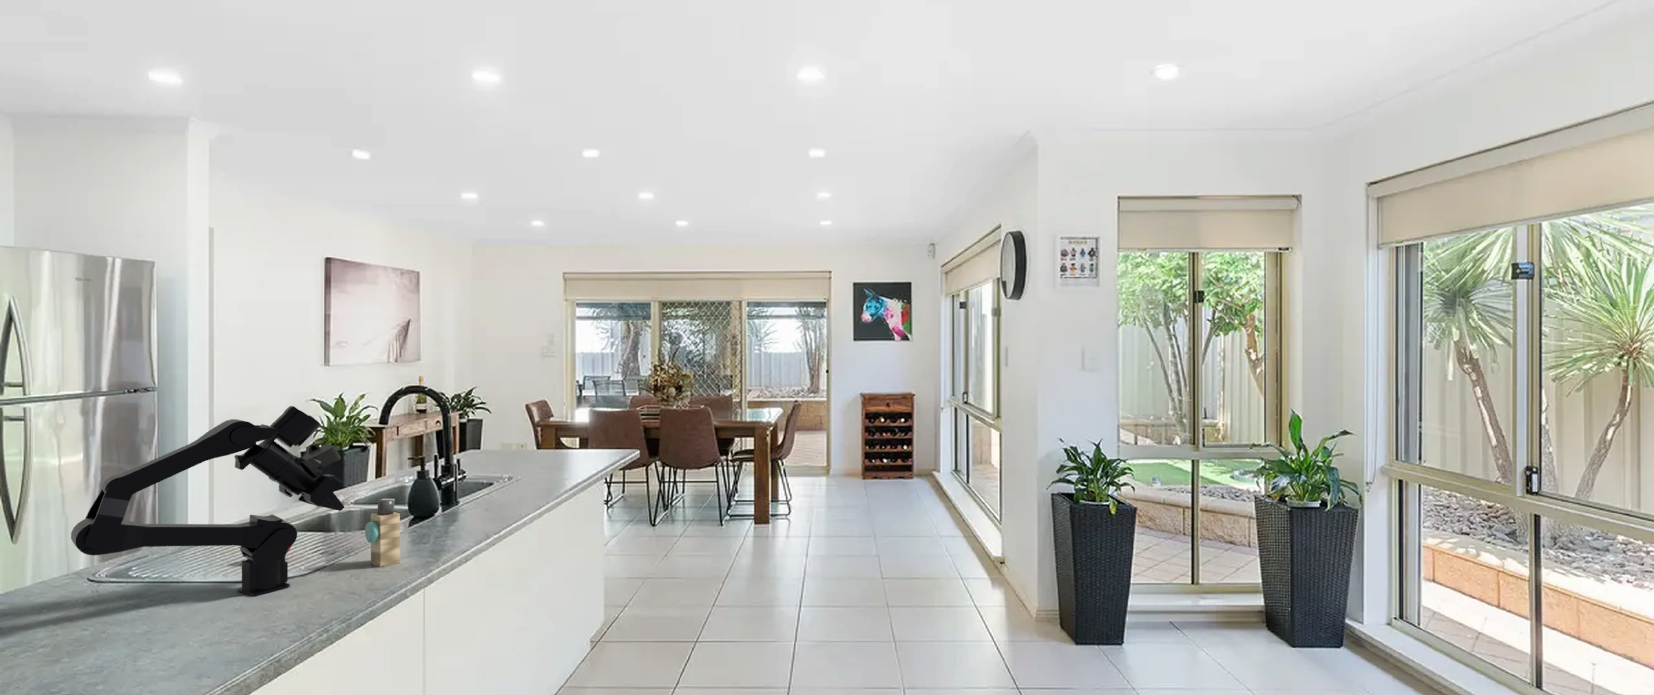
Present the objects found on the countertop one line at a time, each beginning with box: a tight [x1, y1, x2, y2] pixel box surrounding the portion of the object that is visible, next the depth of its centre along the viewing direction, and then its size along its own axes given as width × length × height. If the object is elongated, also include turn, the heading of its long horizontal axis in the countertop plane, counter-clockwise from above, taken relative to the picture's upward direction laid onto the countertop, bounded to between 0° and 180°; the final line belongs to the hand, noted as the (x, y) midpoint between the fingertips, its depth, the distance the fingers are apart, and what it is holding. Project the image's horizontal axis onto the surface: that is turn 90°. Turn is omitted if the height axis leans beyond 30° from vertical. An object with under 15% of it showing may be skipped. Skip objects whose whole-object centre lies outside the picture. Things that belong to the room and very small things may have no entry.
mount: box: [370, 511, 401, 568], centre depth 166 cm, size 4×5×11 cm
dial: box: [376, 498, 396, 515], centre depth 166 cm, size 3×3×3 cm
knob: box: [364, 521, 379, 544], centre depth 166 cm, size 6×4×4 cm
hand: (342, 508), depth 159 cm, fingers closed
